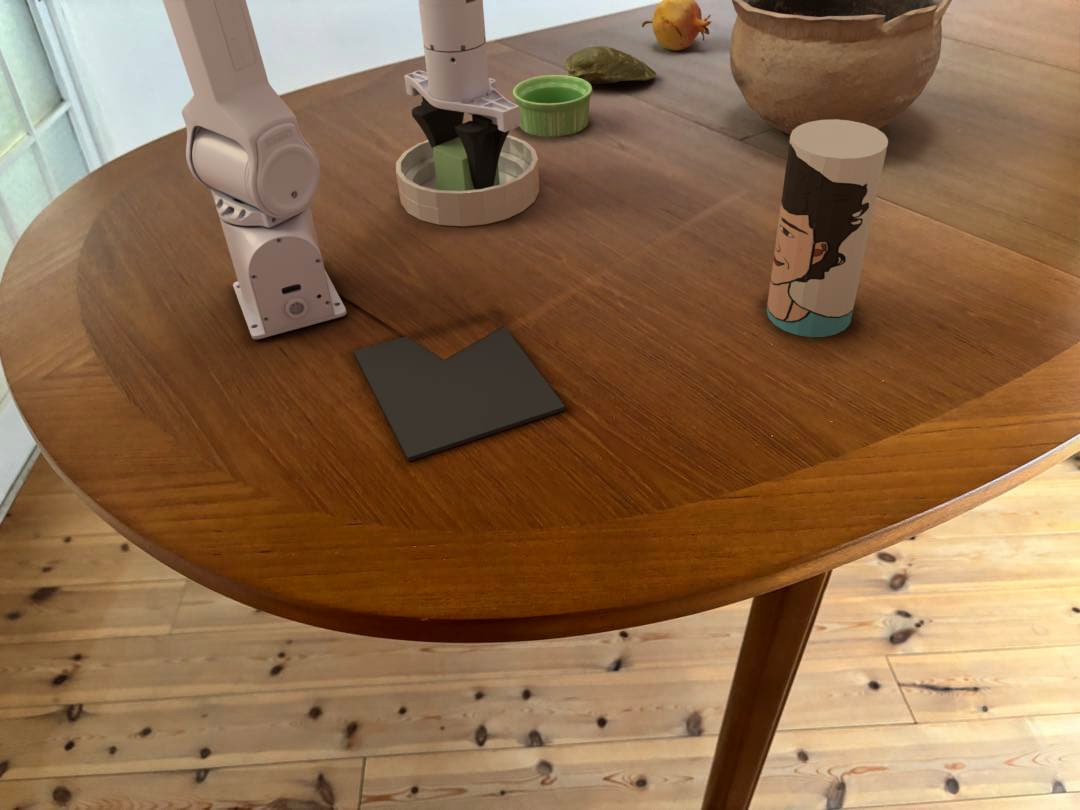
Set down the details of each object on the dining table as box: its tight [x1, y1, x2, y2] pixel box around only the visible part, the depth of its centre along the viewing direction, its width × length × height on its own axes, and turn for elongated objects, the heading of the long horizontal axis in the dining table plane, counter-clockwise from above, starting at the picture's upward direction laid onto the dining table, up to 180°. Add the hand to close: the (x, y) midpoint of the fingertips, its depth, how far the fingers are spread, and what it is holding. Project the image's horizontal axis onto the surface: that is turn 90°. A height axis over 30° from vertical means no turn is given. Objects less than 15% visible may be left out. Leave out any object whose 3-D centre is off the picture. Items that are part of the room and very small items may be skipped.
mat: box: [353, 325, 566, 462], centre depth 70 cm, size 14×12×1 cm
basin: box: [395, 134, 540, 227], centre depth 92 cm, size 14×14×4 cm
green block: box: [433, 137, 500, 191], centre depth 91 cm, size 4×4×4 cm
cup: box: [766, 119, 889, 338], centre depth 70 cm, size 7×7×15 cm
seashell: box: [564, 45, 657, 85], centre depth 115 cm, size 10×7×10 cm
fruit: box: [641, 0, 712, 52], centre depth 123 cm, size 7×7×10 cm
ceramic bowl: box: [729, 0, 953, 136], centre depth 98 cm, size 22×22×15 cm
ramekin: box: [512, 74, 593, 138], centre depth 105 cm, size 9×9×4 cm
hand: (468, 180), depth 92 cm, fingers closed on green block, 4 cm apart
